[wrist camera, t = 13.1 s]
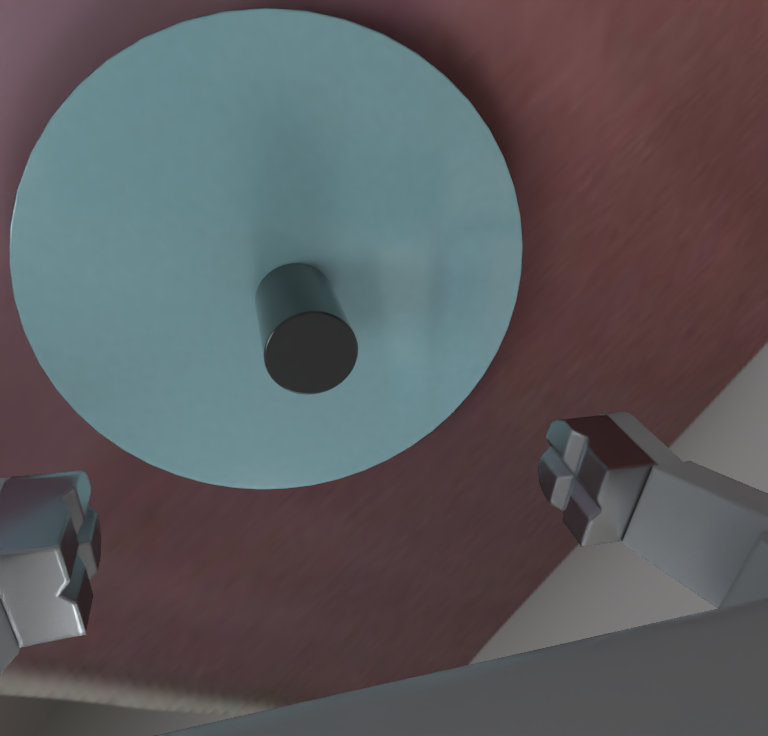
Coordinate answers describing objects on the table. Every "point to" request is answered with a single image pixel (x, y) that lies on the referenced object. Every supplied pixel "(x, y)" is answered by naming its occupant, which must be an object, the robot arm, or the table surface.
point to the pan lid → (265, 248)
